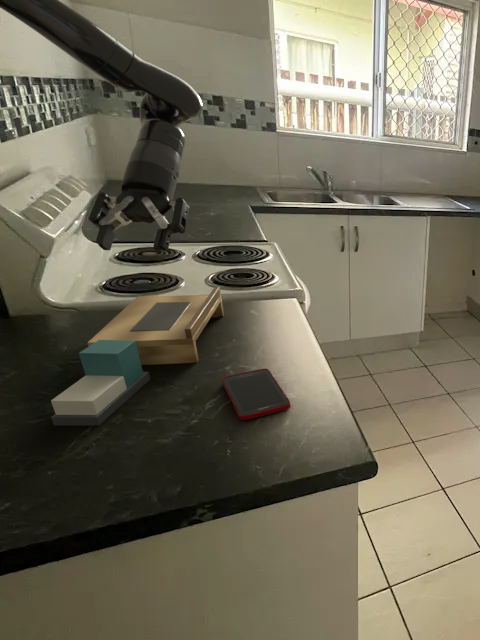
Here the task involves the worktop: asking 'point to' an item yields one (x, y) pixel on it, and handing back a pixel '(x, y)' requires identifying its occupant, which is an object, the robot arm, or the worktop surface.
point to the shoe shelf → (164, 326)
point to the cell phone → (255, 394)
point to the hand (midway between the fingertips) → (131, 249)
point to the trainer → (101, 384)
